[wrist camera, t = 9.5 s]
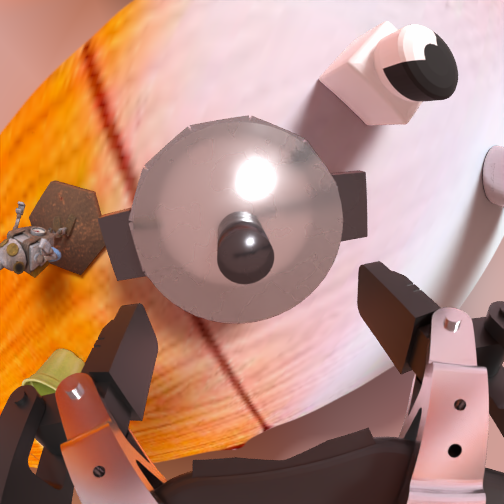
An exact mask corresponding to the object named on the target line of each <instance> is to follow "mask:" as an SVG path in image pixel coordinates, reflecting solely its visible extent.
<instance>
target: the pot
mask: <svg viewBox="0 0 504 504" xmlns="http://www.w3.org/2000/svg"><path fill="white" fill-rule="evenodd" d="M231 122H250V123H257V124H263V125H268V126H271V127H274V128H277V129H279V130H282V131H284V132H286V133H288V134H290V135H292V136H294V137H296V138H297V139H299V140H300V141H301V142H303V143H304V144H306V145H307V146H308V147H309V148H310V149H311V150H312V151H313V152H314V153H315V154H316V152H315V151H314V149H313V148H312V147H311V145H310V144H309V142H308V141H307V140H304V138H303V137H301V136H299V135H296V134H294V133H292V132H290V131H287V130H285V129H283V128H280V127H278V126H276V125H273V124H271V123H268V122H266V121H263V120H261V119H258V118H256V117H253V116H251V117H250V118H249V116H242V117H235V118H228V119H222V120H216V121H211V122H205V123H200V124H195V125H190V126H191V128H189V127H187V128H185V129H184V130H183V131H182V132H181V133H180V134H178V135H177V136H176V137H175V138H174V139H173V140H172V141H170V142H169V143H168V144H167V145H166V146H165V147H164V148H163V149H162V150H160V151H159V152H158V153H157V154H156V155H155V156H154V157H153V158H152V159H151V160H150V161H149V162H148V163H147V164H146V165H145V168H143V170H142V173H141V176H140V179H139V183H138V186H137V190H136V193H135V197H134V201H133V205H132V208H128V209H124V210H120V211H116V212H112V213H108V214H104V215H102V216H101V217H99V218H98V222H99V225H100V229H101V232H102V236H103V239H104V242H105V245H106V249H107V252H108V255H109V258H110V261H111V264H112V267H113V270H114V272H115V275H116V278H117V281H120V280H126V279H132V278H137V277H143V276H147V274H146V272H145V270H144V268H143V266H142V264H141V262H140V259H139V256H138V253H137V250H136V245H135V241H134V231H133V219H134V209H135V204H136V199H137V196H138V193H139V191H140V188H141V185H142V183H143V181H144V179H145V177H146V176H147V174H148V172H149V171H150V169H151V168H152V166H153V165H154V164H155V162H156V161H157V160H158V159H159V158H160V157H161V156H162V155H163V154H164V152H165V151H166V150H167V149H169V148H170V147H171V146H173V145H174V144H175V143H176V142H178V141H179V140H181V139H182V138H184V137H186V136H188V135H189V134H191V133H193V132H196V131H198V130H201V129H203V128H206V127H209V126H213V125H217V124H222V123H231ZM316 155H317V154H316ZM317 156H318V155H317ZM318 157H319V156H318ZM330 174H331V176H332V177H333V179H334V182H335V184H336V187H337V189H338V192H339V196H340V200H341V205H342V214H343V230H342V236H341V241H346V240H351V239H357V238H362V237H367V192H366V173H365V172H363V171H348V172H338V173H330ZM147 277H148V276H147ZM148 278H149V277H148ZM149 279H150V278H149Z"/></svg>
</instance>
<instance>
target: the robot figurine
mask: <svg viewBox="0 0 504 504" xmlns="http://www.w3.org/2000/svg"><path fill="white" fill-rule="evenodd" d="M18 204H19V207H18V208H16V213H17V219H16V223H15V226H14V227H13V230H12V231H9V232H8V234H7V239H5V240H4V241H3V242H2V243H1V244H0V270H1V269H3V268H6V269H8V270H11V271H14V272H15V273H16V274H21V273H22V272H23V271H25V272H27V273H28V274H30V275H31V276H33V277H35V278H36V277H37V276H38V275H39V274H40V273H41V272H42V271H43V270H44V269H45V268H46V267H47V266H48V265H49V263H50V264H53V265H56V266H58V267H61V268H63V269H66V270H69V271H71V272H74V273H77V274H79V275H81V274H82V273H83V272H84V271H85V270H86V268H87V267H88V266H89V265H90V263H91V262H92V261H93V260H94V258H95V257H96V256H97V255H98V254H99V252H100V251H101V250H102V249H103V248H104V247H105V242H104V239H103V236H102V232H101V229H100V225H99V222H98V218H99V217H101V216H102V215H101V211H100V208H99V204H98V201H97V197H96V193H95V192H94V191H90V190H87V189H83V188H80V187H76V186H73V185H69V184H66V183H62V182H59V181H52V182H50V184H49V185H48V187H47V188H46V190H45V192H44V193H43V195H42V196H41V198H40V200H39V201H38V203H37V205H36V206H35V208H34V210H33V211H32V213H31V215H30V217H29V219H30V222H31V225H32V226H30V227H23V228H17V227H18V224H19V221H20V218H21V215H23V211H24V208H25V204H24V203H23V202H18Z"/></svg>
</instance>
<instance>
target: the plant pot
mask: <svg viewBox="0 0 504 504" xmlns="http://www.w3.org/2000/svg"><path fill="white" fill-rule="evenodd" d="M84 364H85V363H84V362H83V360H82V359H80V358H78V357H77V356H76V355H75V354H74V353H73V352H71V351H69V350H66V349H57V350H56V351H55V352H54V353H53V354H52V355H51V356H50V357H49V358H48V360H47V361H46V362H45V363H44V364H43V365H42V366H41V368H40V369H39V370H38V371H37V372H36V373H35V374H33V375H32V376H31V377H30V378H27V379H25V380H24V381H23V382H22V386H23V385H32V386H33V387H34V388H35V389H36V390H37V391H38V393H39V394H40V395H41V396H43V395H47V394H52V393H55V392H56V389H57V387H58V385H59V384H60V383H61V381H62V380H63V379H65V378H66V377H68V376H69V375H72V374H75V373H81V371H82V369H83V367H84Z"/></svg>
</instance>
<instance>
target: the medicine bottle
mask: <svg viewBox="0 0 504 504" xmlns="http://www.w3.org/2000/svg"><path fill="white" fill-rule="evenodd" d="M319 80H320V82H321V83H323V84H324V85H325V86H326V87H327V88H328V89H330V90H331V91H332V92H333V93H334V94H335V95H336V96H337V97H338V98H340V99H341V100H342V101H343V102H344V103H345V104H346V105H347V106H348V107H349V108H350V109H351V110H352V111H353V112H354V113H355V114H356V115H357V116H358V117H359V118H360V119H361V120H362V121H363V122H364V123H365V124H366V125H395V124H407V123H408V122H409V121H410V119H411V118H412V116H413V115H414V114H415V112H416V111H417V109H418V108H419V106H420V105H421V104H422V102H423V101H433V100H444V99H447V98H449V97H450V96H451V95H452V94H453V93H454V91H455V89H456V86H457V82H458V70H457V65H456V62H455V59H454V57H453V54H452V52H451V51H450V49H449V47H448V46H447V44H446V43H445V42H444V41H443V40H442V39H441V38H440V37H439V36H438V35H437V34H436V33H434V32H433V31H431V30H430V29H428V28H426V27H424V26H421V25H415V24H413V25H408V26H405V27H403V28H401V29H399V30H397V29H396V28H395V27H394V26H393V25H392V24H391V23H390V22H388V21H385V22H383V23H381V24H380V25H378V26H376V27H375V28H373V29H371V30H370V31H368V32H366V33H365V34H363V35H362V36H360V37H358V38H357V39H355V40H354V41H353V42H352V43H351V44H350V45H349V46H348V47H347V48H346V49H345V50H344V51H343V52H342V53H341V54H340V55H339V56H338V58H337V59H336V60H335V61H334V62H333V63H332V64H331V65H330V66H329V67H328V68H327V70H326V71H325V72H324V73H323V74H322V75H321V76H320V78H319Z"/></svg>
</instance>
